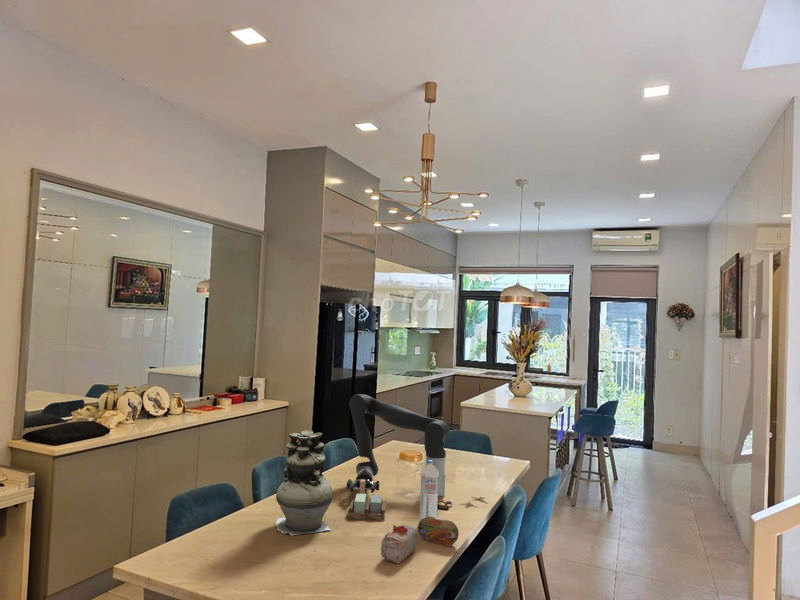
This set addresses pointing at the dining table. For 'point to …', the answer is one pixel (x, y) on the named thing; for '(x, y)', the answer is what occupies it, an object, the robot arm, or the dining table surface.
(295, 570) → the dining table surface
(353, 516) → the lane rack
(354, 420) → the robot arm
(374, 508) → the slate block
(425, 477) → the water bottle
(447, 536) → the tin
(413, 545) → the food item
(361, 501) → the sage block
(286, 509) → the decorative urn
